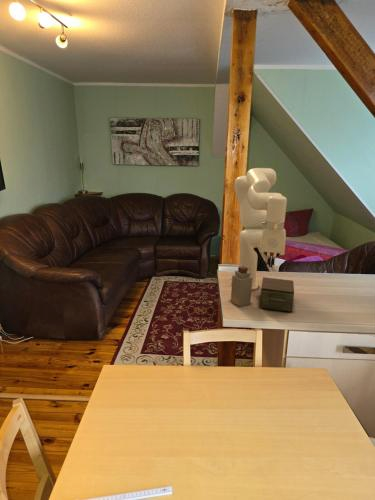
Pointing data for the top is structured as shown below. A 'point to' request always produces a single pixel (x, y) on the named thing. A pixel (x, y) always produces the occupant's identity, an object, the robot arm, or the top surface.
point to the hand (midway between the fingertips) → (270, 266)
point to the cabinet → (277, 287)
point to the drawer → (276, 300)
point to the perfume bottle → (241, 287)
